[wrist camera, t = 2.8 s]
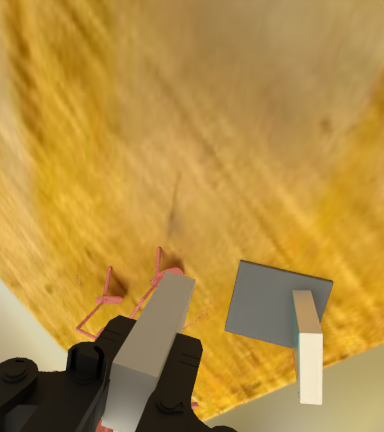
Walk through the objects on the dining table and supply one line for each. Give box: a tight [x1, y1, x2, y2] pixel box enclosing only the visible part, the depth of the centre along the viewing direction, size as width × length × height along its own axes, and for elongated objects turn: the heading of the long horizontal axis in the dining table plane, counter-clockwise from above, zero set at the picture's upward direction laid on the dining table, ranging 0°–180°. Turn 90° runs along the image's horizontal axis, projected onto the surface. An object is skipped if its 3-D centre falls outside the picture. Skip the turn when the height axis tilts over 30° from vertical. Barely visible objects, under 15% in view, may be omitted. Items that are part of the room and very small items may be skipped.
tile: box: [292, 290, 323, 405], centre depth 45 cm, size 10×3×10 cm, turn 6°
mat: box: [225, 260, 333, 349], centre depth 50 cm, size 12×13×1 cm
